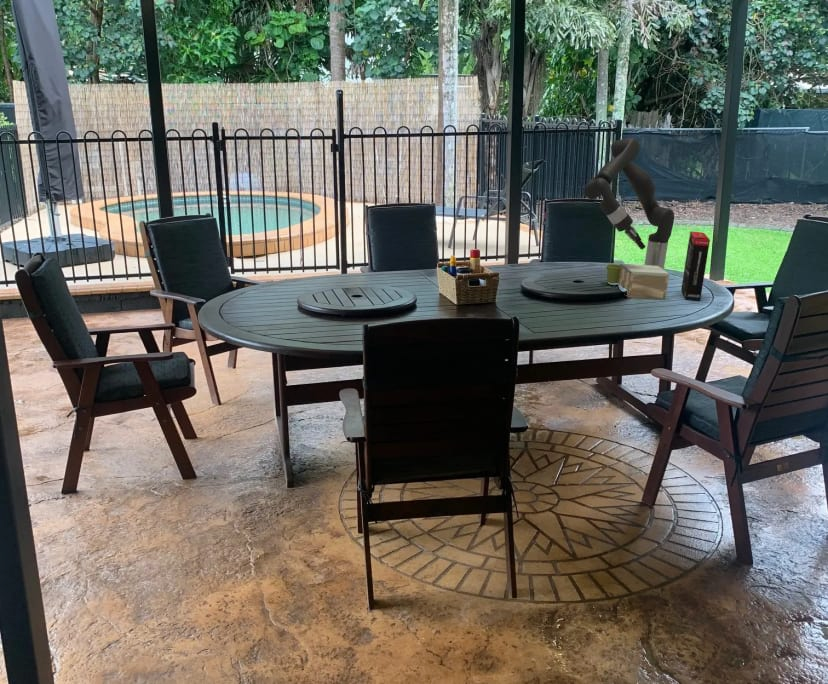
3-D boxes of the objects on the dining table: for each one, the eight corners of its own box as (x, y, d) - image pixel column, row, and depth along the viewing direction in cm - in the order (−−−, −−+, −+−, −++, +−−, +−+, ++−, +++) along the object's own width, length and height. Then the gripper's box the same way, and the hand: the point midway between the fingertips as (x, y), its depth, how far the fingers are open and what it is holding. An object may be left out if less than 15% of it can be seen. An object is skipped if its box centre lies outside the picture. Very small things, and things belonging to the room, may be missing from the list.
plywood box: (617, 288, 345) (621, 266, 342) (653, 290, 345) (656, 268, 342) (627, 297, 329) (631, 274, 326) (664, 299, 330) (668, 276, 327)
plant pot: (602, 285, 348) (605, 266, 346) (604, 281, 357) (606, 263, 354) (623, 288, 346) (626, 269, 343) (624, 284, 354) (627, 265, 352)
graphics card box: (700, 301, 330) (712, 238, 322) (684, 299, 331) (694, 236, 323) (695, 292, 346) (705, 232, 338) (679, 291, 348) (689, 230, 339)
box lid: (619, 266, 341) (619, 263, 341) (657, 268, 342) (657, 265, 341) (629, 274, 326) (629, 270, 326) (669, 276, 327) (669, 273, 327)
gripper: (631, 214, 323) (655, 245, 327) (622, 210, 335) (645, 239, 340) (616, 226, 324) (640, 256, 328) (608, 221, 337) (632, 250, 341)
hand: (643, 248), depth 334 cm, fingers closed
